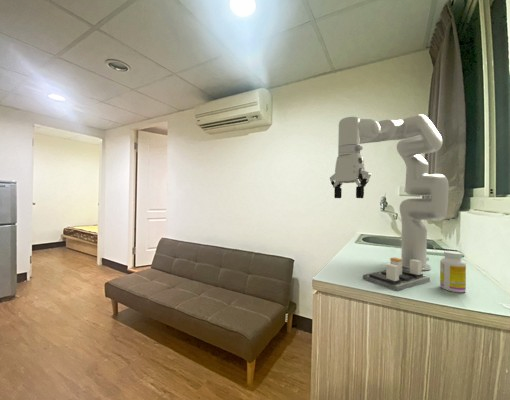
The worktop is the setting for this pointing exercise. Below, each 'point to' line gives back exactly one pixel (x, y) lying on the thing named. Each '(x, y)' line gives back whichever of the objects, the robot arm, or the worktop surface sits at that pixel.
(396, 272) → the block
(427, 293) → the worktop surface
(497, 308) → the worktop surface
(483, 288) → the worktop surface
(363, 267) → the worktop surface
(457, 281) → the supplement bottle
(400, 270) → the block
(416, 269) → the block
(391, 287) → the panel
